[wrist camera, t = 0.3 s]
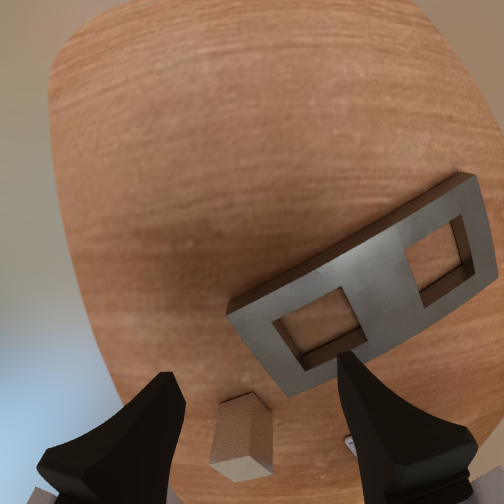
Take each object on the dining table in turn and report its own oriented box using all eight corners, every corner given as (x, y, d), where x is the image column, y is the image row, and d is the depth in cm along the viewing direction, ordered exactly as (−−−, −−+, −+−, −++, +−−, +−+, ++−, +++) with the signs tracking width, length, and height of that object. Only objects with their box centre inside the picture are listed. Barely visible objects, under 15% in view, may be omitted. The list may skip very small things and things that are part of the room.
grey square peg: (272, 414, 25) (272, 474, 19) (240, 424, 26) (234, 482, 19) (252, 392, 24) (248, 455, 18) (219, 404, 25) (208, 464, 19)
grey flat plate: (485, 268, 20) (498, 277, 18) (286, 381, 24) (288, 397, 22) (460, 171, 18) (475, 174, 16) (228, 302, 22) (225, 316, 20)
